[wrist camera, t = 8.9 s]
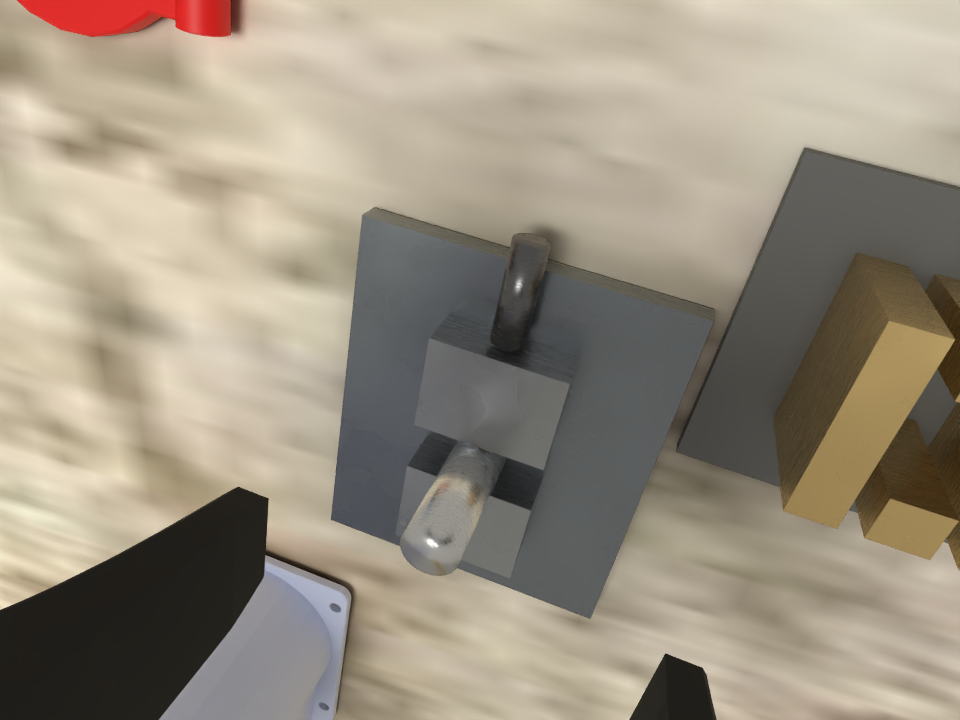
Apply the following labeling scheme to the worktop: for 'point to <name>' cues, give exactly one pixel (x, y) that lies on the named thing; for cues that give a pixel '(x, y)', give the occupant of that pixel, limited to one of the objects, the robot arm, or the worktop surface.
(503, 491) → the vise
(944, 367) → the tan slotted block
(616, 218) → the worktop surface
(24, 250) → the worktop surface
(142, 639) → the robot arm
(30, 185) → the worktop surface
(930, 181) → the mat
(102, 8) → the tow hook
